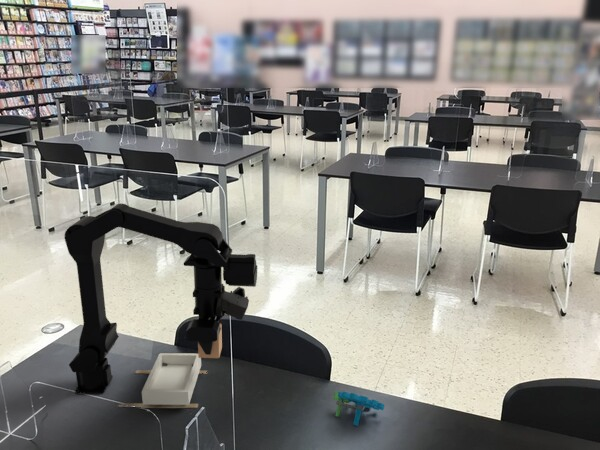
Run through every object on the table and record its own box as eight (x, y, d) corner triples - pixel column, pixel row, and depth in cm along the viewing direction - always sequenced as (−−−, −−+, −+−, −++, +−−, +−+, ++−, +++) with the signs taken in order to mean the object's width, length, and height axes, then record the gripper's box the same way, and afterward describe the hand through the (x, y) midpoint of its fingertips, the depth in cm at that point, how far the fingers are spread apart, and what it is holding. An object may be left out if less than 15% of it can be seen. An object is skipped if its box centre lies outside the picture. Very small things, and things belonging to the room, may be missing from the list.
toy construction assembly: (392, 406, 108) (376, 395, 101) (386, 435, 106) (369, 426, 98) (345, 395, 114) (327, 384, 107) (338, 423, 112) (319, 412, 104)
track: (117, 407, 109) (117, 406, 109) (136, 370, 122) (136, 370, 122) (197, 408, 110) (197, 407, 110) (207, 371, 123) (207, 370, 122)
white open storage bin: (143, 407, 109) (141, 391, 108) (160, 367, 123) (159, 353, 122) (189, 407, 109) (188, 392, 108) (201, 368, 123) (200, 353, 122)
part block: (198, 357, 111) (197, 333, 109) (202, 346, 115) (201, 323, 113) (219, 358, 111) (218, 333, 109) (222, 347, 115) (221, 323, 114)
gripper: (241, 304, 99) (242, 373, 104) (250, 267, 117) (250, 327, 122) (184, 303, 99) (187, 372, 104) (201, 266, 117) (203, 326, 122)
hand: (210, 348), depth 113 cm, fingers closed on part block, 4 cm apart
